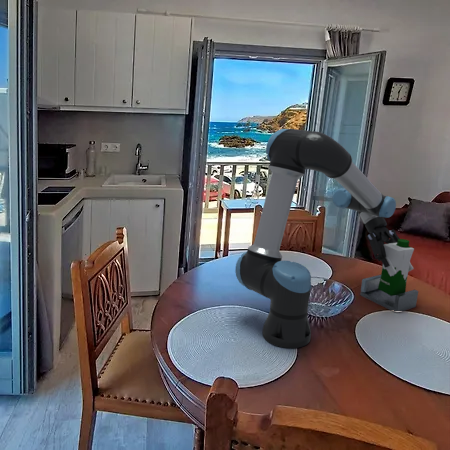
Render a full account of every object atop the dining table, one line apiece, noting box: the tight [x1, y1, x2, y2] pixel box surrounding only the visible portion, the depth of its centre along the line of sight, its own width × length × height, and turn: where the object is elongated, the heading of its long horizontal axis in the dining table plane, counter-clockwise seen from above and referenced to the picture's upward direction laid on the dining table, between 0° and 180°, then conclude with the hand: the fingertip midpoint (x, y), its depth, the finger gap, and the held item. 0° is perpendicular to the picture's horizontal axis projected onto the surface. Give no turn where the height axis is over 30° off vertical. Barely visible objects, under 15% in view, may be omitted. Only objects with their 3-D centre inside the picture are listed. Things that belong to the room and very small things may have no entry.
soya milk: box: [378, 238, 415, 296], centre depth 163 cm, size 9×9×20 cm
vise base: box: [360, 289, 419, 312], centre depth 167 cm, size 17×11×6 cm, turn 32°
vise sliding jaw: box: [360, 274, 381, 292], centre depth 173 cm, size 2×11×5 cm, turn 122°
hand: (402, 272), depth 161 cm, fingers closed on soya milk, 9 cm apart
